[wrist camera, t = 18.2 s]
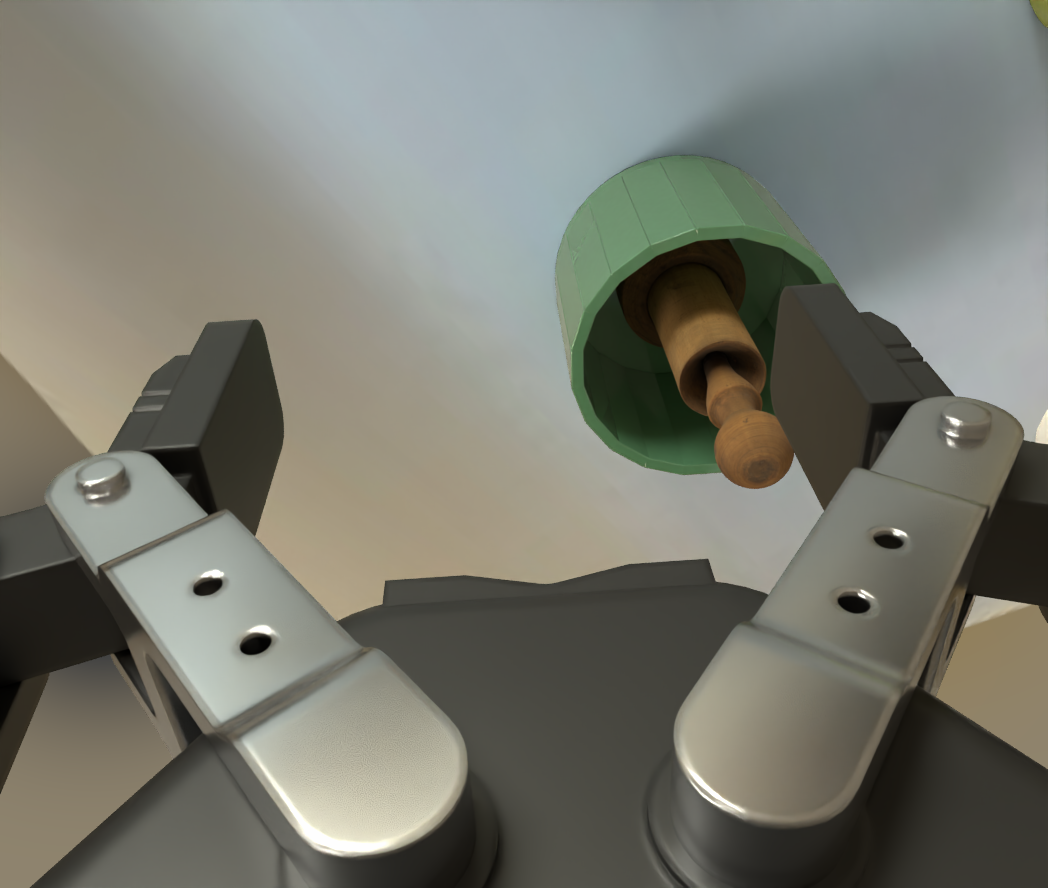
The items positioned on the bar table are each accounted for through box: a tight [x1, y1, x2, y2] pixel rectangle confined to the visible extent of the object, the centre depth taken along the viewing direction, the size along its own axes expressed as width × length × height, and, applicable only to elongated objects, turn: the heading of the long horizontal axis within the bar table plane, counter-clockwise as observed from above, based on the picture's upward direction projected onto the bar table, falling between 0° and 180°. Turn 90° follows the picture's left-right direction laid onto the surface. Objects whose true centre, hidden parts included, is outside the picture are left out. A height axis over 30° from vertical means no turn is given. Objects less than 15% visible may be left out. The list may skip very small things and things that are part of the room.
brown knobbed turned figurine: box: [616, 239, 794, 489], centre depth 43 cm, size 7×6×18 cm
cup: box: [555, 155, 846, 475], centre depth 47 cm, size 13×13×10 cm
